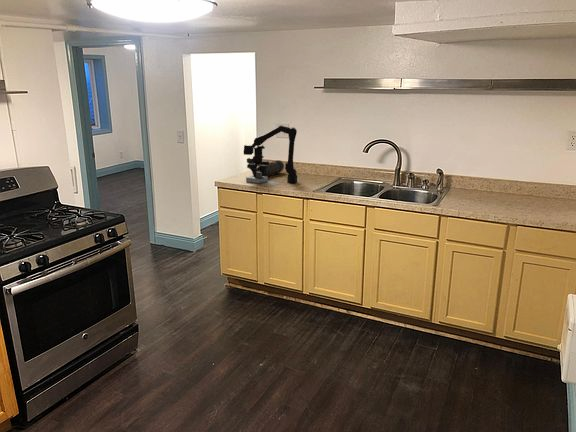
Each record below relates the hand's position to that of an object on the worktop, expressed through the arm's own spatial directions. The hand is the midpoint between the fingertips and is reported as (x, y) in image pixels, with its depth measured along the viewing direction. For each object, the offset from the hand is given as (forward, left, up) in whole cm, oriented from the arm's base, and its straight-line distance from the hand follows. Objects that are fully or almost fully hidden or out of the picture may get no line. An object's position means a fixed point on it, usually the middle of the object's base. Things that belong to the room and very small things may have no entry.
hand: (258, 176), depth 342 cm
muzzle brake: (+10, -27, -5) cm, 30 cm away
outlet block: (+2, 0, -5) cm, 5 cm away
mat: (-10, -3, -5) cm, 11 cm away
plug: (0, 0, -4) cm, 4 cm away
